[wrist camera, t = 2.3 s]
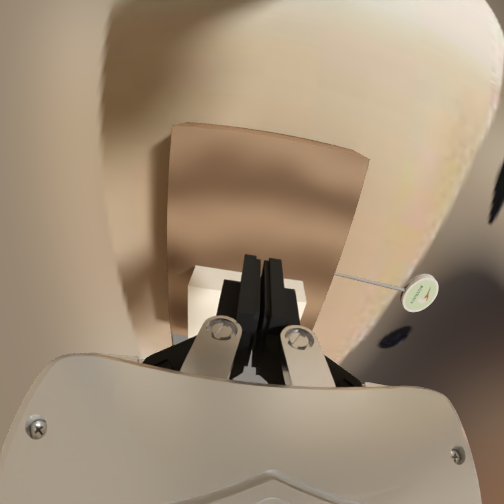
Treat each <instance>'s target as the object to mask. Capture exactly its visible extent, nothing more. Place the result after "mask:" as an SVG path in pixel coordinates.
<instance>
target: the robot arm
mask: <svg viewBox="0 0 504 504" xmlns="http://www.w3.org/2000/svg"><path fill="white" fill-rule="evenodd" d="M251 350H252V362H251V367H254V368H256V375H260V376H261V377H262V378H263V379H264V380H265V382H264V384H263V383H253V382H245V381H236V380H233V378H235V377H237V376H238V375H240V374H242V373H243V370H244V366H246V367H248V363H249V359H250V355H251ZM0 504H482V503H481V495H480V489H479V483H478V478H477V473H476V469H475V465H474V461H473V458H472V454H471V450H470V447H469V443H468V441H467V438H466V435H465V432H464V429H463V427H462V424H461V422H460V419H459V417H458V415H457V413H456V411H455V409H454V407H453V405H452V404H451V402H450V401H449V400H448V398H447V397H445V396H444V395H443V394H441V393H439V392H437V391H434V390H430V389H427V388H422V387H415V386H386V385H379V384H374V383H368V382H365V384H364V385H363V384H361V382H360V381H359V380H358V379H357V378H355V377H354V376H352V375H351V374H350V373H348V372H347V371H346V370H344V369H343V368H342V367H340V366H339V365H337V364H336V363H335V362H333V361H332V360H331V359H329V358H328V357H326V356H325V355H324V354H323V351H322V348H321V346H320V343H319V341H318V338H317V336H316V335H315V333H314V332H313V331H311V330H310V329H308V328H306V327H304V326H301V325H300V318H299V311H298V305H297V298H296V292H295V289H289V288H285V287H284V278H283V269H282V260H281V259H275V258H269V260H264V263H263V268H262V273H261V259H257V256H255V255H249V254H245V256H244V262H243V269H242V275H241V281H233V280H226V279H224V281H223V286H222V290H221V295H220V299H219V304H218V309H217V313H216V316H213V317H210V318H208V319H207V320H205V322H204V323H203V324H202V326H201V328H200V330H199V332H198V335H196V336H194V337H192V338H189V339H187V340H185V341H183V342H180V343H178V344H176V345H173V346H171V347H169V348H167V349H164V350H162V351H160V352H157V353H155V354H152V355H150V356H149V357H147V358H146V359H145V360H144V359H138V357H137V356H123V355H110V354H100V353H80V354H67V355H63V356H60V357H57V358H55V359H54V360H52V361H51V362H50V363H49V364H47V366H46V367H45V368H44V369H43V370H42V371H41V373H40V374H39V375H38V377H37V378H36V380H35V381H34V383H33V384H32V386H31V387H30V389H29V391H28V393H27V395H26V396H25V398H24V400H23V402H22V403H21V405H20V408H19V410H18V412H17V414H16V416H15V418H14V421H13V423H12V425H11V427H10V430H9V432H8V435H7V437H6V440H5V443H4V445H3V448H2V451H1V454H0Z"/></svg>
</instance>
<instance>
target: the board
mask: <svg viewBox="0 0 504 504" xmlns="http://www.w3.org/2000/svg"><path fill="white" fill-rule="evenodd" d="M369 160H370V159H368V158H366V157H365V156H363V155H361V154H359V153H357V152H355V151H354V150H350V149H346V148H343V147H339V146H335V145H331V144H327V143H322V142H318V141H313V140H309V139H304V138H299V137H294V136H289V135H284V134H278V133H273V132H267V131H260V130H254V129H247V128H239V127H231V126H223V125H213V124H202V123H189V122H187V123H182V124H178V125H173V126H172V134H171V146H170V160H169V177H168V202H167V272H168V297H169V315H170V329H171V333H174V334H179V335H184V336H188V284H189V282H190V279H191V276H192V274H193V271H194V269H195V266H196V265H197V266H203V267H210V268H216V269H222V270H229V271H236V272H242V269H243V262H244V256H245V254H249V255H255V256H257V259H261V273H262V268H263V263H264V260H269V258H275V259H281V260H282V269H283V278H284V279H291V280H298V281H303V285H304V291H305V296H306V302H307V303H306V306H305V309H304V312H303V314H302V317H301V320H300V325H301V326H304V327H306V328H308V329H310V330H311V331H312V329H313V327H314V325H315V322H316V320H317V317H318V315H319V312H320V310H321V307H322V305H323V302H324V300H325V297H326V295H327V292H328V290H329V287H330V284H331V282H332V279H333V276H334V274H335V271H336V268H337V265H338V262H339V260H340V257H341V254H342V251H343V248H344V245H345V242H346V239H347V236H348V233H349V230H350V227H351V224H352V220H353V217H354V214H355V211H356V207H357V204H358V201H359V197H360V194H361V190H362V187H363V183H364V179H365V176H366V172H367V168H368V164H369Z"/></svg>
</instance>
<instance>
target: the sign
mask: <svg viewBox="0 0 504 504" xmlns="http://www.w3.org/2000/svg"><path fill="white" fill-rule="evenodd" d="M334 275H338V276H342V277H346V278H350V279H354V280H358V281H362V282H366V283H370V284H375V285H379V286H383V287H387V288H391V289H395V290H399V291H402V292H401V295H400V300H401V303H402V304H403V307H404V308H405V309H406V310H407V311H409V312H417V311H421V310H422V309H424V308H426V307H428V306H429V305H430V304H431V303H432V302H433V301H434V299H435V298H436V296H437V293H438V283H437V281H436V280H435V279H434V277H433V276H431V275H429V274H420V275H417V276H415V277H414V278H412V279H411V280H410V281H408V282H407V284H406V285H405V286H404V288H400V287H396V286H392V285H387V284H383V283H379V282H375V281H370V280H366V279H362V278H357V277H353V276H348V275H344V274H340V273H335V274H334Z"/></svg>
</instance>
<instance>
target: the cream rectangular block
mask: <svg viewBox="0 0 504 504" xmlns="http://www.w3.org/2000/svg"><path fill="white" fill-rule="evenodd" d="M241 275H242V272H236V271H229V270H222V269H216V268H210V267H203V266H197V265H196V266H195V269H194V271H193V274H192V276H191V279H190V282H189V284H188V338H192V337H194V336H196V335H198V332H199V330H200V328H201V326H202V324H203V323H204V322H205V320H207V319H208V318H210V317H213V316H216V313H217V309H218V304H219V299H220V295H221V290H222V286H223V281H224V279H226V280H233V281H241ZM284 287H285V288H289V289H295V292H296V298H297V305H298V311H299V318H300V320H301V317H302V314H303V312H304V309H305V306H306V303H307V302H306V296H305V291H304V285H303V281H298V280H291V279H284Z"/></svg>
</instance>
